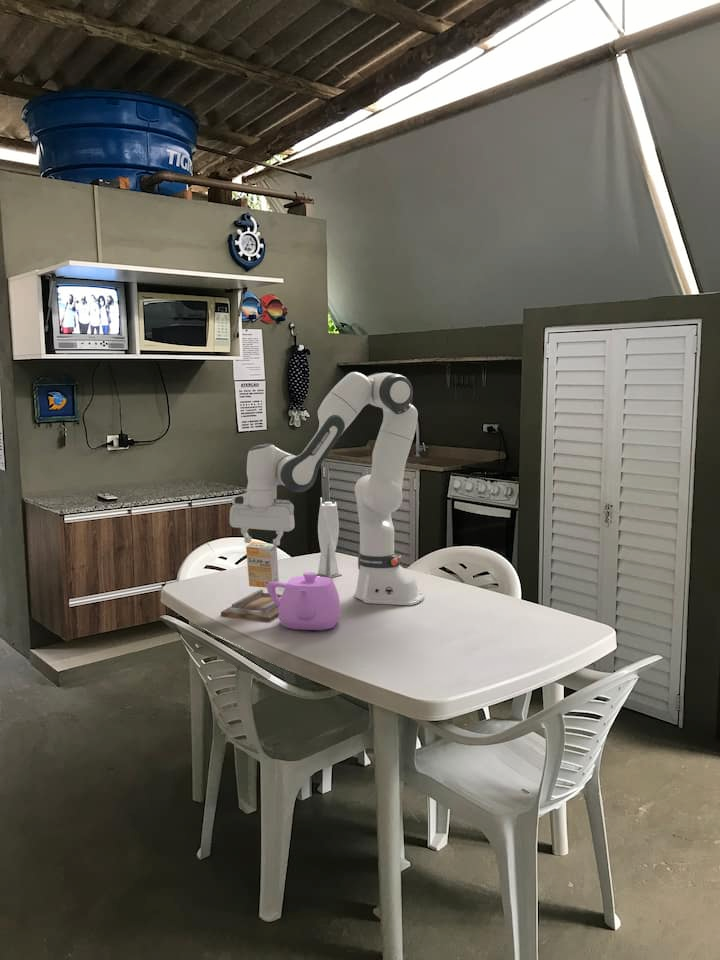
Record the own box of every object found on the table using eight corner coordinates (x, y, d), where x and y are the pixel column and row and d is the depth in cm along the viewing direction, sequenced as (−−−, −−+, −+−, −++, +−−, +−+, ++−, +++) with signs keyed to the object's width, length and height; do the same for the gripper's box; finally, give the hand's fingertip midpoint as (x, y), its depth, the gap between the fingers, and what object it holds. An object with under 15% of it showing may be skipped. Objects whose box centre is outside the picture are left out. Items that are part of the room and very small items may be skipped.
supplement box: (248, 586, 234) (244, 546, 231) (255, 580, 239) (252, 540, 235) (273, 589, 232) (269, 548, 228) (280, 583, 236) (276, 543, 232)
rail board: (301, 601, 242) (301, 591, 242) (270, 621, 222) (270, 611, 221) (255, 596, 247) (255, 587, 247) (220, 615, 227) (220, 605, 226)
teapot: (272, 614, 229) (272, 565, 227) (343, 617, 227) (343, 567, 225) (255, 639, 206) (255, 584, 204) (334, 642, 204) (334, 587, 202)
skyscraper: (311, 575, 276) (311, 497, 273) (326, 571, 282) (326, 495, 279) (328, 579, 271) (329, 500, 267) (343, 575, 277) (344, 497, 274)
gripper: (298, 498, 230) (298, 544, 232) (236, 495, 237) (237, 539, 238) (289, 501, 224) (289, 548, 226) (226, 497, 231) (227, 543, 232)
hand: (262, 543), depth 232 cm, fingers closed on supplement box, 8 cm apart
